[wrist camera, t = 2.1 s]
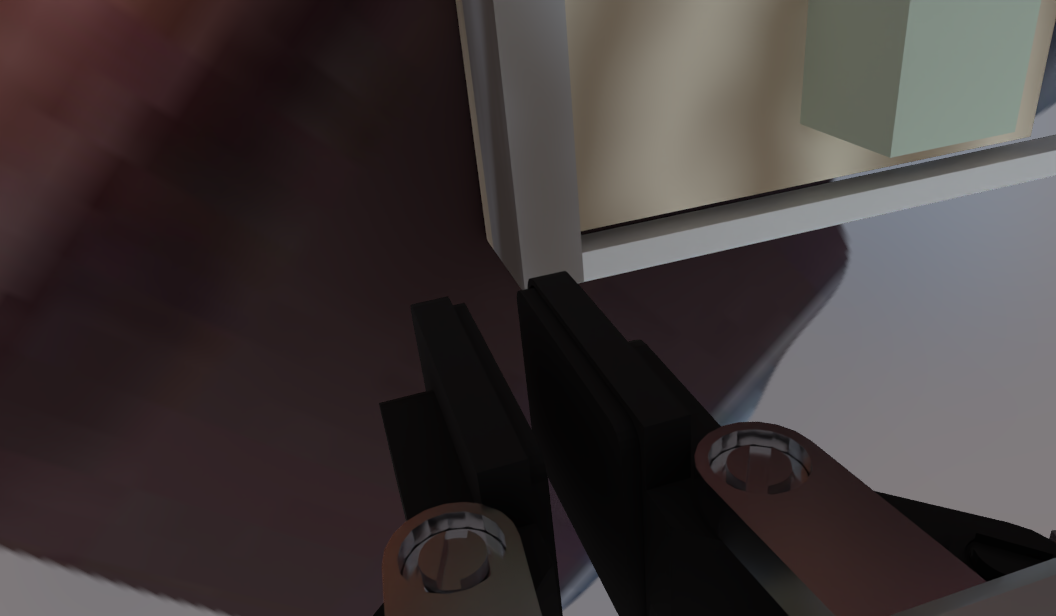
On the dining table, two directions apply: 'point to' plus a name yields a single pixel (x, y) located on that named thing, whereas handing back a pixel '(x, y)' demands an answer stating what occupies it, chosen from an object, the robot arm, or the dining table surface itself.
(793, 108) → the beige piece
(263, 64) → the dining table surface
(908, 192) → the lane rails
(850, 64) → the block
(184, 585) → the dining table surface
